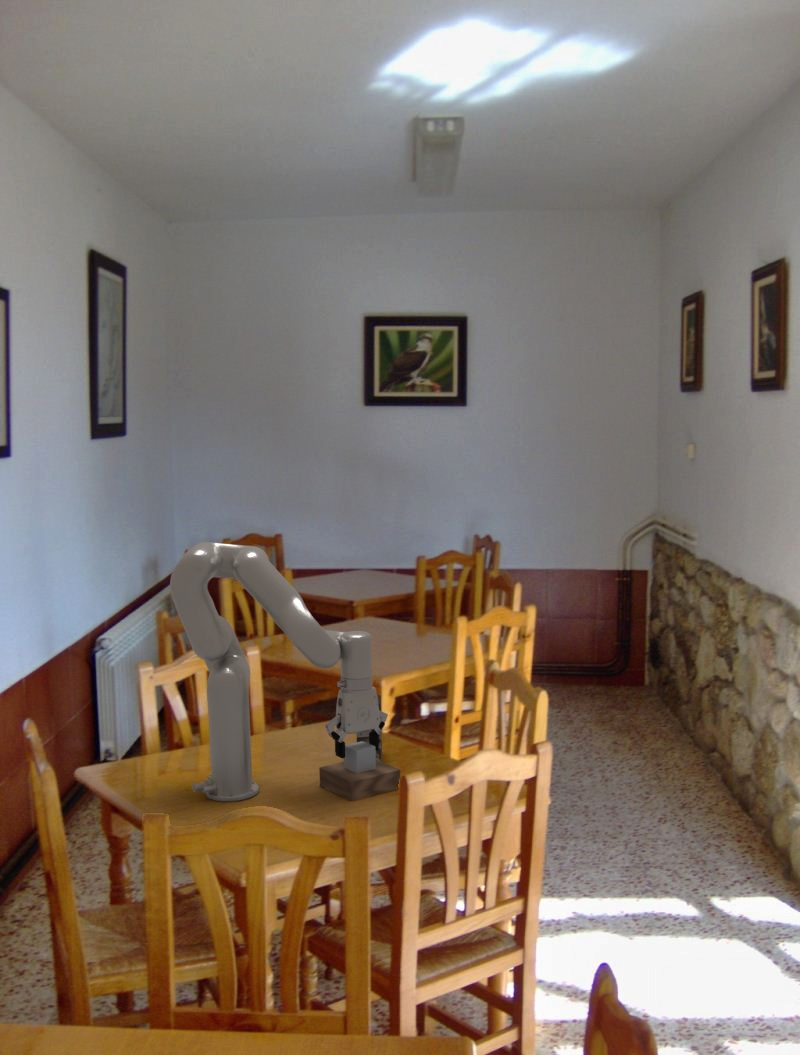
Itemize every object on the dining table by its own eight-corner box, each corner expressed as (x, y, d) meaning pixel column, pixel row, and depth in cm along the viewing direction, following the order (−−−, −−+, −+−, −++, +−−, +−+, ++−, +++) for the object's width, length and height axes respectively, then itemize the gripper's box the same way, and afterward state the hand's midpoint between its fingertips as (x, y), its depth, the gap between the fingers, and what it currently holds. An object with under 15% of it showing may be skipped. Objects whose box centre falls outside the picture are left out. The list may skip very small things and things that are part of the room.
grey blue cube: (357, 773, 253) (356, 750, 252) (344, 767, 257) (343, 745, 257) (375, 768, 256) (375, 746, 256) (362, 763, 260) (362, 741, 260)
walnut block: (351, 803, 247) (351, 782, 247) (319, 787, 258) (319, 767, 258) (400, 789, 255) (400, 769, 255) (367, 775, 267) (367, 755, 266)
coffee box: (381, 764, 273) (380, 703, 272) (356, 765, 274) (355, 703, 272) (383, 753, 282) (381, 694, 281) (358, 754, 283) (357, 694, 281)
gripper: (334, 691, 246) (335, 764, 248) (395, 681, 257) (395, 750, 258) (317, 685, 252) (318, 756, 254) (377, 675, 263) (377, 743, 264)
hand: (357, 753), depth 256 cm, fingers open, 9 cm apart
